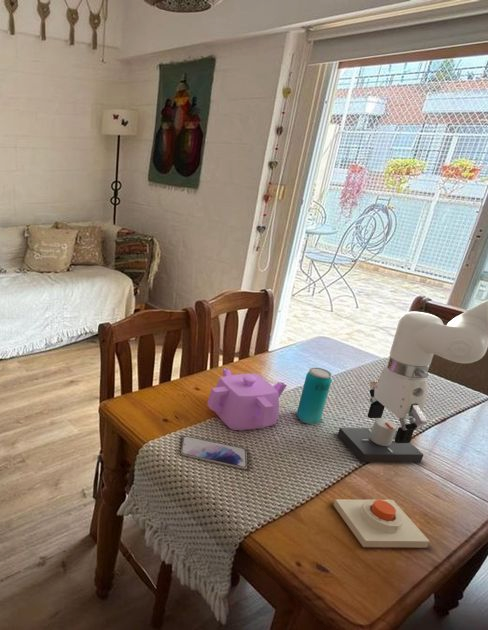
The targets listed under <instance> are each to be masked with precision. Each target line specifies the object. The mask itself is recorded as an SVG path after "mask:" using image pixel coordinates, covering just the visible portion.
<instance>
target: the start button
mask: <svg viewBox="0 0 488 630" xmlns="http://www.w3.org/2000/svg"><path fill="white" fill-rule="evenodd" d="M374 500H375V501H374V503H373V506H372V509H371V510H372V513H373V514H374V515H375V516H377V517H378V518H380V519H383V520H385V521H391V520H393V518H394V516H395V513H396V509H395V508H394V507H393V506H392V505H391V504H390V503H388V502H386V501H383V500H384V499H374Z"/></svg>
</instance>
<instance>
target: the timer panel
mask: <svg viewBox="0 0 488 630" xmlns="http://www.w3.org/2000/svg"><path fill="white" fill-rule="evenodd" d="M372 428H373V427H339V428H338V432H337V437H338V438H339V439H340V440H341V442H342V443H344V445H345V446H346V447H347V448H348V449H349V450H350V451H351V452H352V454H353V455H354V456H355V457H356V458H357V459H358V461H360V462H361V463H392V464H394V463H398V464H399V463H400V464H401V463H403V464H405V463H407V464H421V462H422V460H423V457H424V455H425V454H423V452H421V451H420V450H419V449H418V448H417V447H416V446H415V445H414V444H413V443H412V442H410V443H396V442H395V437H396V434H397V431H398V429H396V431H395V434H394V437H393V440H392V442H391V445H389V446H382V445H378V444H376V443H374V442H373V441H372V440H371V439H370V434H371V431H372Z"/></svg>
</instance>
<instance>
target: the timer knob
mask: <svg viewBox="0 0 488 630" xmlns="http://www.w3.org/2000/svg"><path fill="white" fill-rule="evenodd" d="M371 428H372V431H371V434H370V439H371V440H372V441H373V442H374V443H376V444H378V445H382V446H389V445H391V442H392V440H393V437H394V434H395V431H396V430H398V425H397V424H396V423H395V422H394V421H392V420H390V419H387V418H383V417H381V418H374V422H373V425H372V427H371Z"/></svg>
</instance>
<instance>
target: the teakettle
mask: <svg viewBox="0 0 488 630" xmlns="http://www.w3.org/2000/svg"><path fill="white" fill-rule="evenodd" d="M215 385H216V386H215V387H211V388H210V391H209V396H208V399H207V404H206V406H207V407H208V408H209V409H210V410H211V411H213V412H214V413H215V414H216V416H218V418H219V419H220V420H221V421H222V422H223V423H224V424H225V426H227V427H228V428H229V429H231V430H235V431H246V430H257V429H262V428H267V427H271V426H273V425H275V424H276V423H277V421H278V417H279V410H280V397H281V395H282V394H283V392H284V391H285V389H286V387H287V386H288V385H287V384H286V383H285V382H280V381H277V383H276V384H274V385H272V384H270V383H269V381H267V380H266V379H265V378H263V376H261V375H260V374H258V373H240V374H233V373H232V371H231V369H229V368H222V376H221V377H219V379H218V381H217V383H216V384H215Z"/></svg>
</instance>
